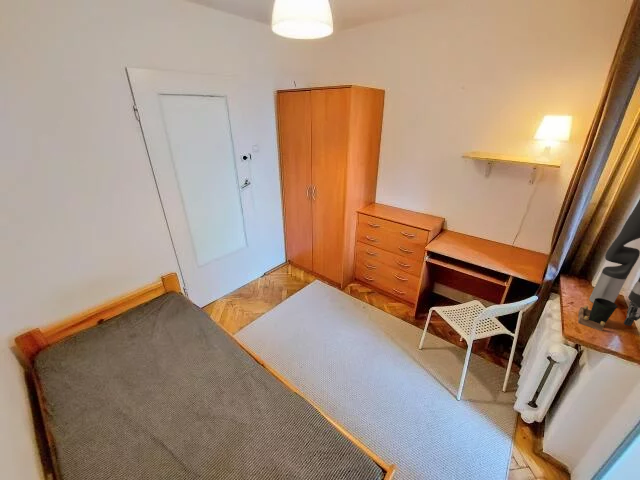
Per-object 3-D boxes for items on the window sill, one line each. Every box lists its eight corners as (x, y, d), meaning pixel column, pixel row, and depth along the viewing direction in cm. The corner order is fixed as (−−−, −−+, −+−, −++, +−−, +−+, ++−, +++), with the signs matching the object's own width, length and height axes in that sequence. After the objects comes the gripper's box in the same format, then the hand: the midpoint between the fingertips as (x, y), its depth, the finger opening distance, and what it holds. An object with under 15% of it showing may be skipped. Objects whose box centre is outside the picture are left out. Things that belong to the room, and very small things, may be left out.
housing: (578, 311, 141) (581, 304, 139) (600, 318, 135) (604, 311, 134) (578, 323, 132) (581, 315, 130) (601, 331, 127) (605, 323, 125)
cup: (584, 316, 137) (594, 296, 133) (605, 322, 133) (616, 302, 128) (585, 323, 132) (595, 302, 127) (607, 330, 127) (618, 309, 123)
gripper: (630, 283, 125) (614, 314, 132) (634, 295, 116) (616, 327, 123) (654, 289, 121) (636, 321, 127) (660, 302, 112) (641, 335, 118)
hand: (627, 324), depth 125 cm, fingers closed
